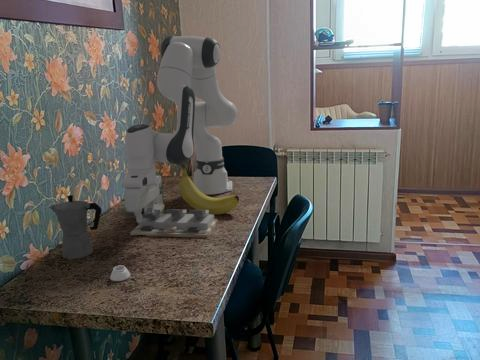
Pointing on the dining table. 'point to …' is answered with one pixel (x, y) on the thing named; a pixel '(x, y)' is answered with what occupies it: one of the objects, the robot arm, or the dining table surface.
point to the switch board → (174, 231)
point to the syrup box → (159, 199)
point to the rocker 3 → (199, 213)
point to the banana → (204, 197)
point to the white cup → (119, 273)
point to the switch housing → (179, 221)
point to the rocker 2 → (175, 212)
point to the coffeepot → (76, 227)
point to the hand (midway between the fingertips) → (145, 217)
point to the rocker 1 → (157, 210)
